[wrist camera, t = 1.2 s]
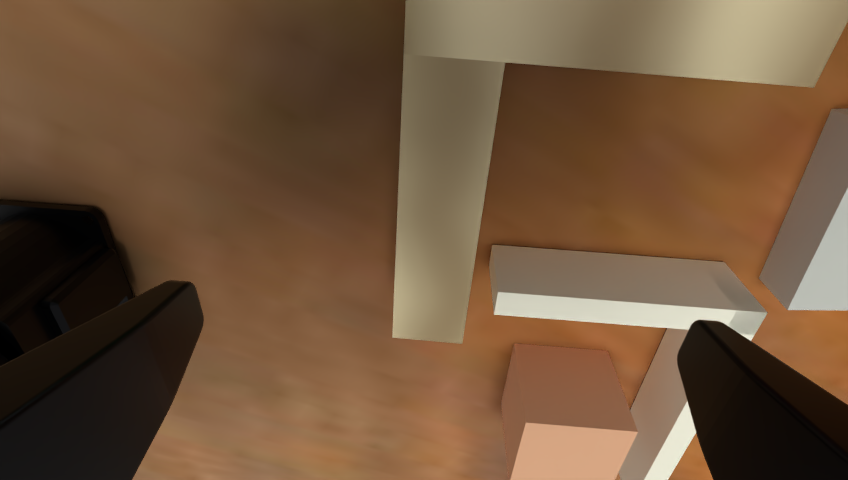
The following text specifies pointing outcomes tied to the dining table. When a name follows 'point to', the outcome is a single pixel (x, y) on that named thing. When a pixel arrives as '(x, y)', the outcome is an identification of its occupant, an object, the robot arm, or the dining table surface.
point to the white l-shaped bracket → (630, 305)
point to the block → (564, 415)
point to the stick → (815, 229)
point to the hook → (561, 47)
